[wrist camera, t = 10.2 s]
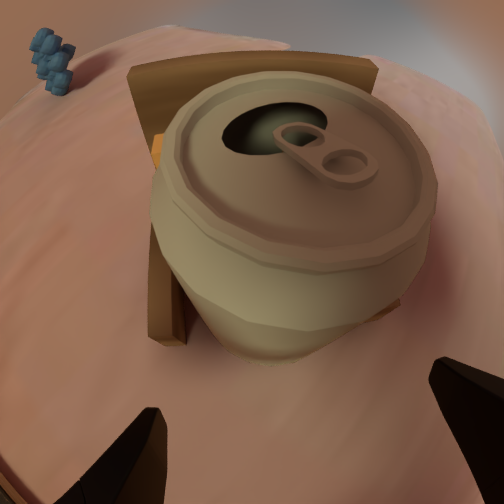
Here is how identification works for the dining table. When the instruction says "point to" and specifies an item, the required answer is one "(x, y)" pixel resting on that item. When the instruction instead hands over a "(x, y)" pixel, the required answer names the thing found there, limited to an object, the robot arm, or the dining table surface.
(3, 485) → the hardcover book
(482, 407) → the robot arm
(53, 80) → the grapes
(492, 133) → the dining table surface
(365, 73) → the brown wooden crate
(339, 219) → the can
